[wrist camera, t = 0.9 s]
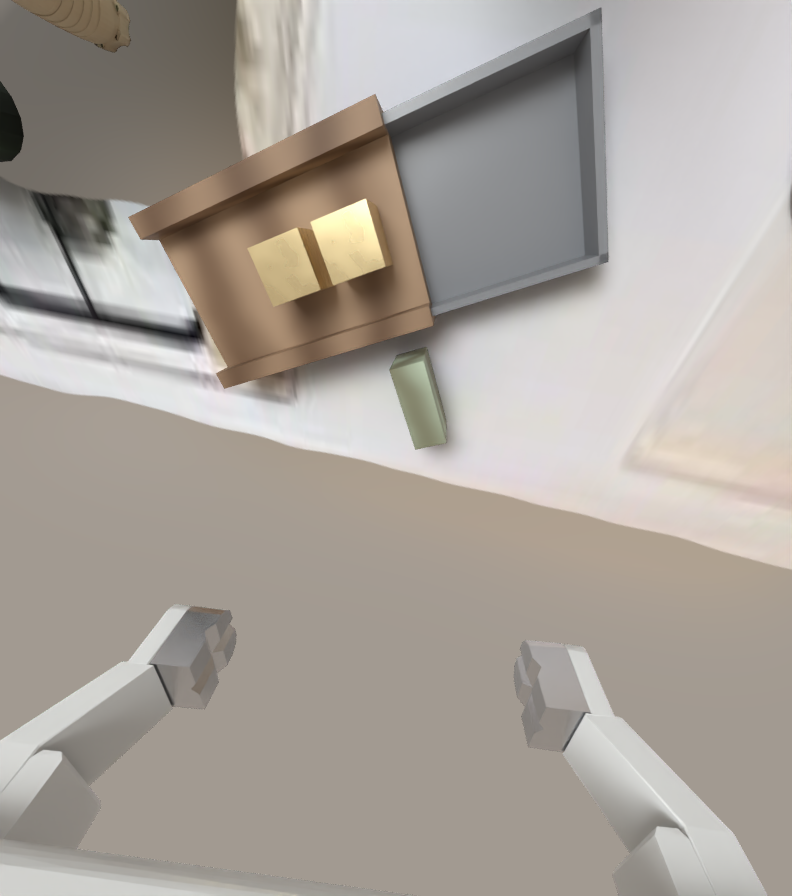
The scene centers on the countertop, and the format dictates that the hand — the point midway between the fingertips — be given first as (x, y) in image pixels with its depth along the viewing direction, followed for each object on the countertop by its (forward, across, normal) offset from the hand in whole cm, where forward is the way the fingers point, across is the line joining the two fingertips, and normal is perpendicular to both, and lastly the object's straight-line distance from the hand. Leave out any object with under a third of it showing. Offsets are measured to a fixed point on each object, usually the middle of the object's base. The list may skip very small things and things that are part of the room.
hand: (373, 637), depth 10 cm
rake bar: (+28, -1, +1) cm, 28 cm away
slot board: (+28, +10, -9) cm, 31 cm away
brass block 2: (+24, +4, -11) cm, 27 cm away
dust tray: (+27, -6, -15) cm, 31 cm away
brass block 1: (+25, +9, -9) cm, 28 cm away
